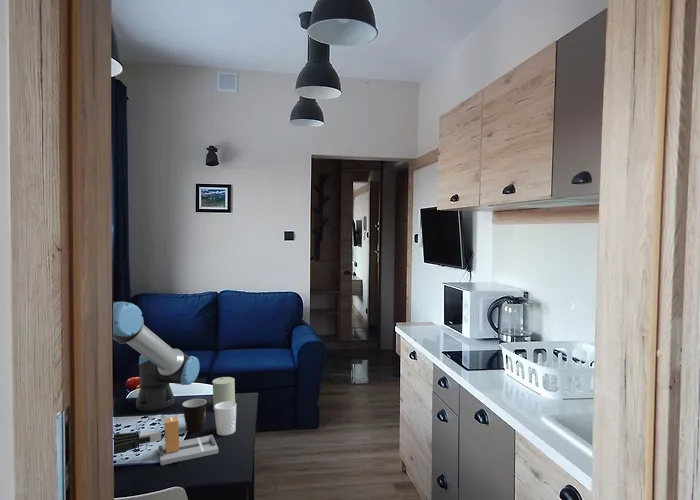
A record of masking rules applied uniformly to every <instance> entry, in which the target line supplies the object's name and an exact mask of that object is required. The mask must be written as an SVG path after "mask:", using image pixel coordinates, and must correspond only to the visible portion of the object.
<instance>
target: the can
mask: <svg viewBox="0 0 700 500" xmlns="http://www.w3.org/2000/svg"><path fill="white" fill-rule="evenodd" d="M211 381H212V401H213V402H212V404H213V405H212V410H213V411H215V409H214V406H215V405H216V404H218V403H221V402H227V401H230V402H235V403H236V393H235V392H236V390H235V387H236V386H235V385H236V384H235V381H236V380H235V378H234V377H231V376H222V377H217V378H214V379H213V380H211Z"/></svg>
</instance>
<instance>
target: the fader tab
mask: <svg viewBox="0 0 700 500" xmlns="http://www.w3.org/2000/svg"><path fill="white" fill-rule="evenodd" d="M179 425H180V424H179V419H178V416H173V417H172V416H170V417H167V418H164V442H165V443H164V444H165V448H166V453H169V452H174V451H179V441H180V435H179V434H180V430H179V428H180V427H179Z"/></svg>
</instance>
